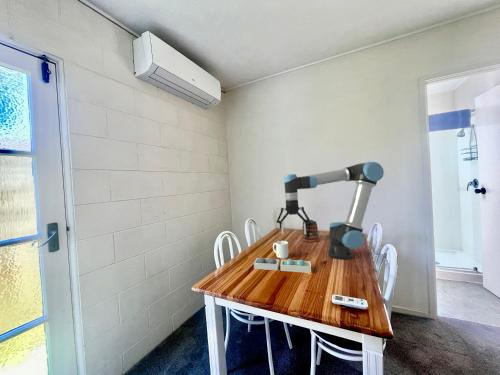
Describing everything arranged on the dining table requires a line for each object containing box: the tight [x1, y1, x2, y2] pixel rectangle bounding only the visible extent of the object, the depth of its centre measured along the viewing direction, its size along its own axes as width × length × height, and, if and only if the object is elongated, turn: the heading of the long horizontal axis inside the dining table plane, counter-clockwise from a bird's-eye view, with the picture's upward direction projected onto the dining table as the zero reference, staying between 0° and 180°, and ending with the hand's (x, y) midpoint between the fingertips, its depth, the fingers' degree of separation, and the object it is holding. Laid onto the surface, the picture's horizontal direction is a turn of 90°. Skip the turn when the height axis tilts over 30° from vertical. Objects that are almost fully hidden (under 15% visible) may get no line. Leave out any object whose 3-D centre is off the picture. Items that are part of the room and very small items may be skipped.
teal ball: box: [285, 258, 295, 265], centre depth 122 cm, size 6×6×6 cm
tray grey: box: [253, 257, 280, 271], centre depth 125 cm, size 14×8×4 cm, turn 75°
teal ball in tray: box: [296, 259, 306, 266], centre depth 120 cm, size 6×6×6 cm
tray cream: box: [279, 259, 312, 274], centre depth 121 cm, size 17×8×4 cm, turn 75°
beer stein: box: [301, 218, 320, 243], centre depth 177 cm, size 19×15×20 cm
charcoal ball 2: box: [267, 257, 276, 264], centre depth 125 cm, size 6×6×6 cm
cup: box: [272, 240, 289, 259], centre depth 143 cm, size 8×12×10 cm
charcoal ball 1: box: [257, 256, 266, 263], centre depth 126 cm, size 6×6×6 cm
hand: (293, 233), depth 125 cm, fingers open, 13 cm apart
